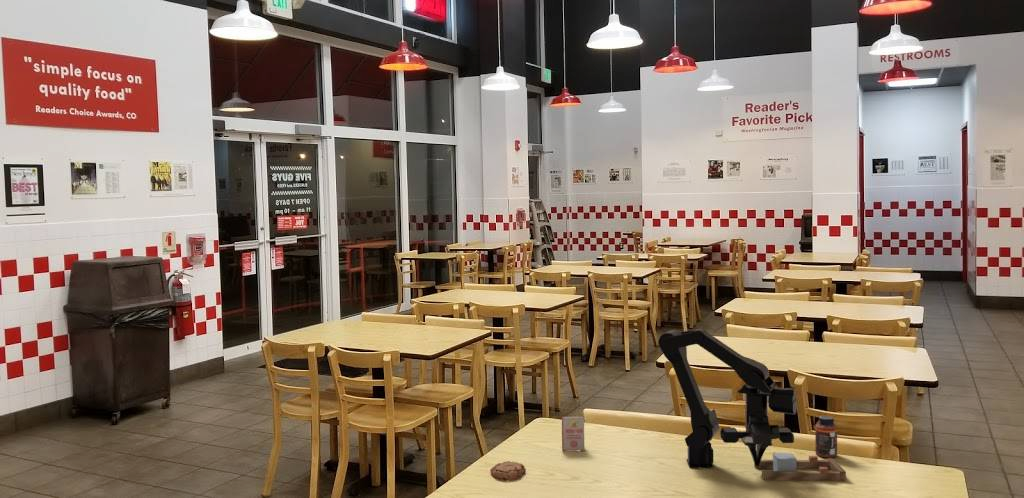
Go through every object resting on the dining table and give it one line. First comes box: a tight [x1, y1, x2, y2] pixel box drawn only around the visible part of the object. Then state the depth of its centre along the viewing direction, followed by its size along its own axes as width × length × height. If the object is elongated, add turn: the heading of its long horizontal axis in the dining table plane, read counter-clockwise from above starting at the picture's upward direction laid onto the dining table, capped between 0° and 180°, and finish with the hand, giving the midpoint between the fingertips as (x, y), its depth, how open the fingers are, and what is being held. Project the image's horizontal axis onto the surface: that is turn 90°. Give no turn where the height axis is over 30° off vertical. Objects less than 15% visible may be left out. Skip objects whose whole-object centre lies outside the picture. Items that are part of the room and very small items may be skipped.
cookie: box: [489, 460, 527, 482], centre depth 222 cm, size 10×11×3 cm
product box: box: [561, 416, 585, 451], centre depth 244 cm, size 4×7×10 cm, turn 85°
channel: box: [753, 455, 847, 482], centre depth 218 cm, size 22×11×3 cm, turn 85°
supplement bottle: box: [814, 415, 838, 459], centre depth 233 cm, size 6×6×11 cm
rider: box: [772, 452, 798, 471], centre depth 218 cm, size 5×5×5 cm
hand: (756, 465), depth 219 cm, fingers closed
